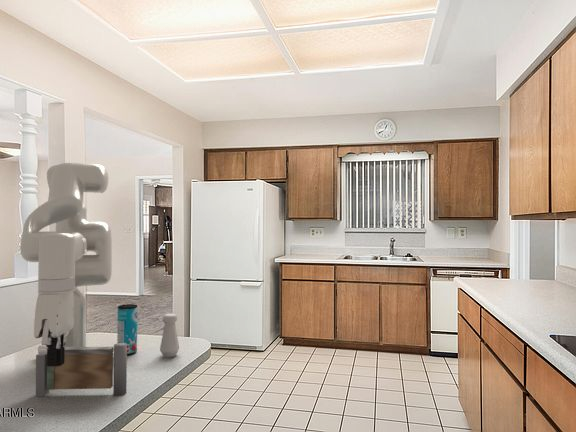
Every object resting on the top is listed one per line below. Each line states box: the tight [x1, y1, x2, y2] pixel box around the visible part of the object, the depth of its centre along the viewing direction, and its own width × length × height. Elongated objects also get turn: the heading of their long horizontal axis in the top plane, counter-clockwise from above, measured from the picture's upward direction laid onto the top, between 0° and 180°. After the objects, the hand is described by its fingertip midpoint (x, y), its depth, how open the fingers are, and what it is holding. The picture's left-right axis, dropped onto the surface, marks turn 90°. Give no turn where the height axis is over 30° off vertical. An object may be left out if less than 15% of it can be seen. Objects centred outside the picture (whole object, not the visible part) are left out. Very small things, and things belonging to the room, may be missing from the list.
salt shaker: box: [159, 313, 180, 359], centre depth 132 cm, size 6×6×13 cm
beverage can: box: [116, 303, 138, 356], centre depth 134 cm, size 6×6×15 cm
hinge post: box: [112, 343, 128, 397], centre depth 103 cm, size 3×3×12 cm
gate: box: [47, 346, 114, 391], centre depth 103 cm, size 15×2×10 cm, turn 94°
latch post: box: [35, 352, 50, 398], centre depth 102 cm, size 2×2×10 cm
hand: (55, 364), depth 97 cm, fingers closed
